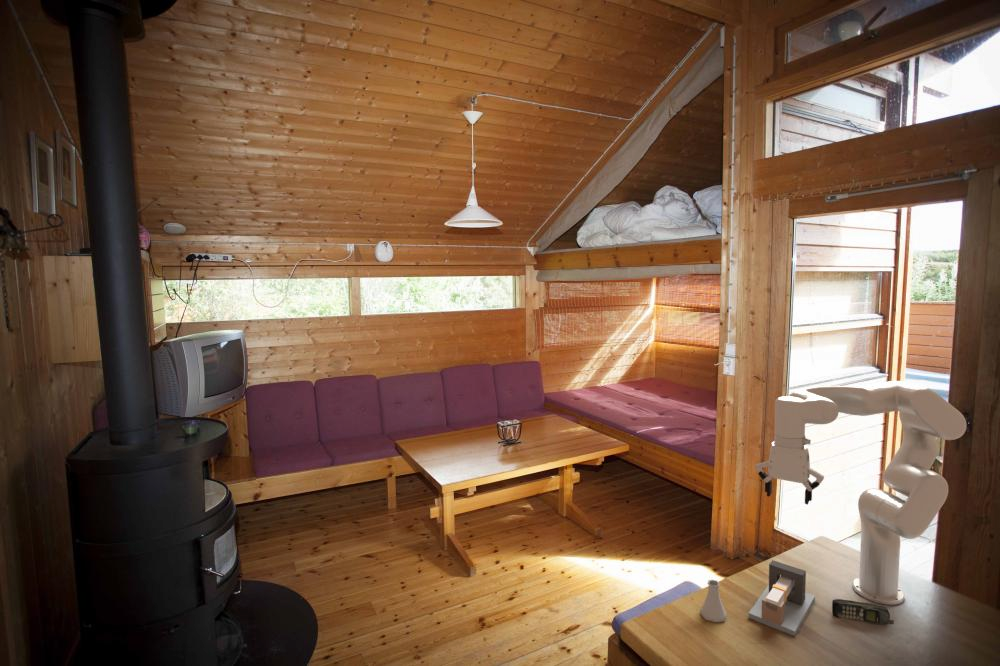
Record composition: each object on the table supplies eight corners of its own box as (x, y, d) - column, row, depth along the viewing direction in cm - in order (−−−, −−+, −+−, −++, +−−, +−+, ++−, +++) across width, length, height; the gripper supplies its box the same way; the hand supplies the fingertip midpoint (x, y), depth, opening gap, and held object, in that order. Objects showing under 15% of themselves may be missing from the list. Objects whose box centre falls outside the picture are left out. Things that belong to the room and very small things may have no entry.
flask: (729, 624, 150) (729, 591, 149) (702, 622, 152) (702, 589, 150) (724, 608, 157) (724, 576, 156) (698, 606, 159) (698, 574, 157)
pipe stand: (771, 585, 167) (771, 560, 166) (814, 600, 158) (815, 574, 157) (748, 617, 152) (748, 590, 151) (794, 636, 144) (795, 608, 143)
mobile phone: (833, 602, 150) (897, 610, 145) (830, 596, 153) (893, 604, 148) (833, 619, 151) (896, 627, 146) (830, 612, 154) (893, 620, 148)
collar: (771, 587, 162) (772, 560, 161) (805, 599, 156) (805, 570, 155) (768, 592, 160) (769, 564, 159) (802, 604, 154) (802, 575, 153)
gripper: (826, 442, 148) (824, 500, 150) (758, 432, 159) (757, 487, 161) (823, 450, 142) (821, 511, 145) (752, 439, 153) (752, 496, 155)
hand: (787, 498), depth 153 cm, fingers open, 9 cm apart
